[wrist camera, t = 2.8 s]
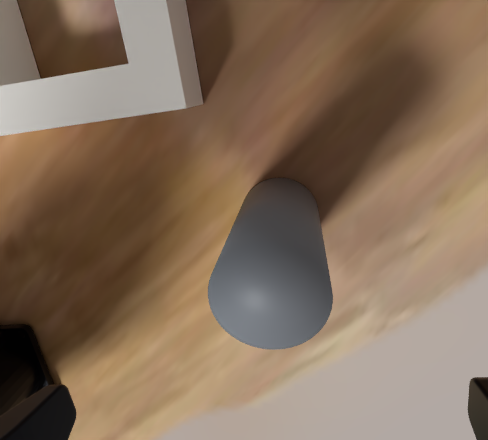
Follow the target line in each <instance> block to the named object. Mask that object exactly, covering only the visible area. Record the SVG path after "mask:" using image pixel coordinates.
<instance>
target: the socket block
mask: <svg viewBox="0 0 488 440" xmlns="http://www.w3.org/2000/svg"><path fill="white" fill-rule="evenodd" d="M114 2H115V6H116V10H117V15H118V19H119V24H120V28H121V32H122V37H123V41H124V45H125V50H126V54H127V59H128V63H129V64H123V65H118V66H112V67H106V68H101V69H95V70H89V71H83V72H78V73H72V74H66V75H60V76H55V77H49V78H43V79H41V78H40V75H39V72H38V68H37V65H36V62H35V59H34V55H33V52H32V49H31V45H30V42H29V39H28V36H27V32H26V29H25V26H24V22H23V19H22V16H21V13H20V9H19V6H18V3H17V0H0V136H3V135H10V134H16V133H23V132H30V131H37V130H43V129H50V128H57V127H64V126H70V125H77V124H84V123H91V122H98V121H104V120H111V119H118V118H125V117H131V116H138V115H145V114H152V113H158V112H165V111H172V110H179V109H185V108H190V107H194V106H198V105H202V104H203V99H202V93H201V87H200V81H199V75H198V69H197V64H196V58H195V52H194V46H193V40H192V35H191V29H190V23H189V17H188V11H187V6H186V0H114Z"/></svg>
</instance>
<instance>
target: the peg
mask: <svg viewBox="0 0 488 440" xmlns="http://www.w3.org/2000/svg"><path fill="white" fill-rule="evenodd" d="M208 299H209V304H210V308H211V310H212V313H213V315H214V317H215V318H216V320H217V321H218V323H219V324H220V325H221V327H222V328H223V329H224V330H225V331H226V332H228V333H229V334H230V335H231V336H233V337H234V338H236V339H237V340H239V341H241V342H243V343H245V344H248V345H250V346H253V347H257V348H262V349H285V348H290V347H294V346H297V345H300V344H302V343H304V342H306V341H308V340H309V339H311V338H312V337H313V336H315V335H316V334H317V333H318V332H319V331H320V330H321V329H322V328H323V326H324V325H325V323H326V322H327V320H328V318H329V315H330V312H331V309H332V303H333V294H332V288H331V282H330V276H329V270H328V264H327V258H326V253H325V247H324V241H323V235H322V229H321V223H320V217H319V211H318V206H317V203H316V200H315V198H314V197H313V195H312V193H311V192H310V191H309V190H308V189H307V188H306V187H305V186H303V185H302V184H300V183H299V182H297V181H294V180H291V179H287V178H272V179H268V180H265V181H263V182H260V183H259V184H257V185H256V186H255V187H253V188H252V189H251V190H250V192H249V193H248V194H247V196H246V198H245V200H244V202H243V204H242V206H241V209H240V211H239V213H238V215H237V218H236V220H235V222H234V224H233V227H232V229H231V231H230V234H229V236H228V238H227V240H226V243H225V245H224V247H223V249H222V252H221V254H220V256H219V258H218V261H217V263H216V265H215V268H214V270H213V272H212V274H211V277H210V280H209V286H208Z"/></svg>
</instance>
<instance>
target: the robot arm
mask: <svg viewBox="0 0 488 440" xmlns="http://www.w3.org/2000/svg"><path fill="white" fill-rule="evenodd" d="M468 415H469V419H470V422H471V425H472V428H473V431H474V433H475V436H476V439H477V440H488V377H477V378H473V379H471V381H470V385H469V399H468ZM75 419H76V409H75V406H74V403H73V401H72V398H71V395H70V393H69V390H68V388H67V387H66V386H65V385H62V384H61V385H54V384H53V381H52V379H51V376H50V374H49V371H48V369H47V366H46V363H45V361H44V358H43V356H42V353H41V351H40V348H39V346H38V343H37V341H36V338H35V336H34V333H33V330H32V329H31V328H30V327H29V326H28V325H25V324H17V325H0V440H68V438H69V435H70V433H71V430H72V428H73V425H74V423H75Z"/></svg>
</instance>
